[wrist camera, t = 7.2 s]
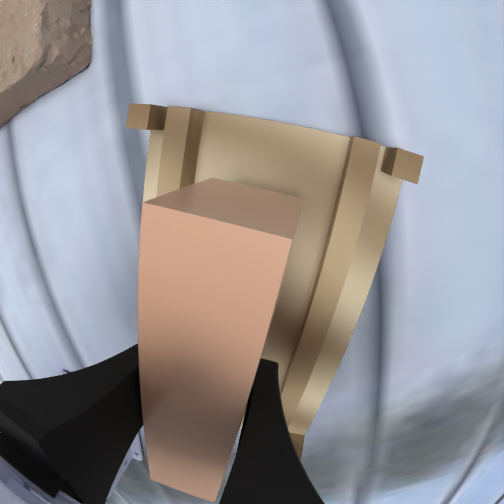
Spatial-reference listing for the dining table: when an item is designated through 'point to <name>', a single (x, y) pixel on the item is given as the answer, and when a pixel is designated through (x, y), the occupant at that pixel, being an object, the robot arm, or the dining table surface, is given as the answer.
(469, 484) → the dining table surface
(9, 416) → the robot arm
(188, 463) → the clay strip
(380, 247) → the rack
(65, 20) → the brick
